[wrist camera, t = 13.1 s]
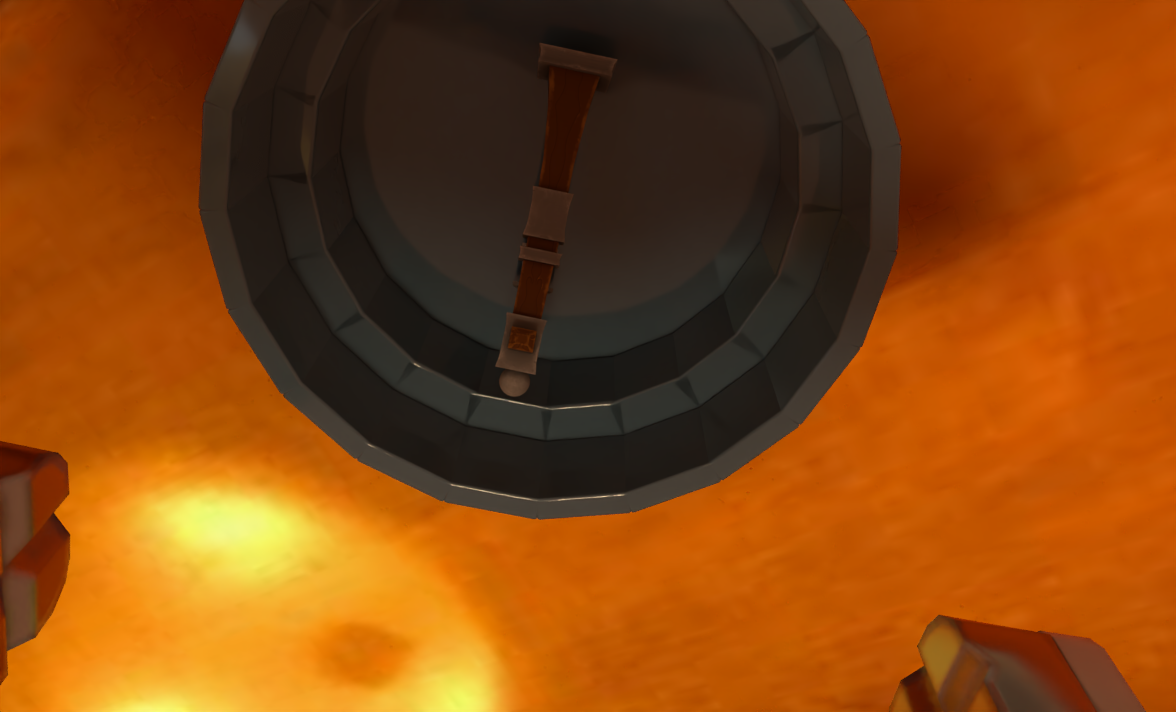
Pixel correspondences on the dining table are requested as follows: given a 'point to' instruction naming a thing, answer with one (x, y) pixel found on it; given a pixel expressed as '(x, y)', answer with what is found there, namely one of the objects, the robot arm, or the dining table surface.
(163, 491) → the dining table surface
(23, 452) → the robot arm
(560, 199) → the brown buckled strap
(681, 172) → the basin
